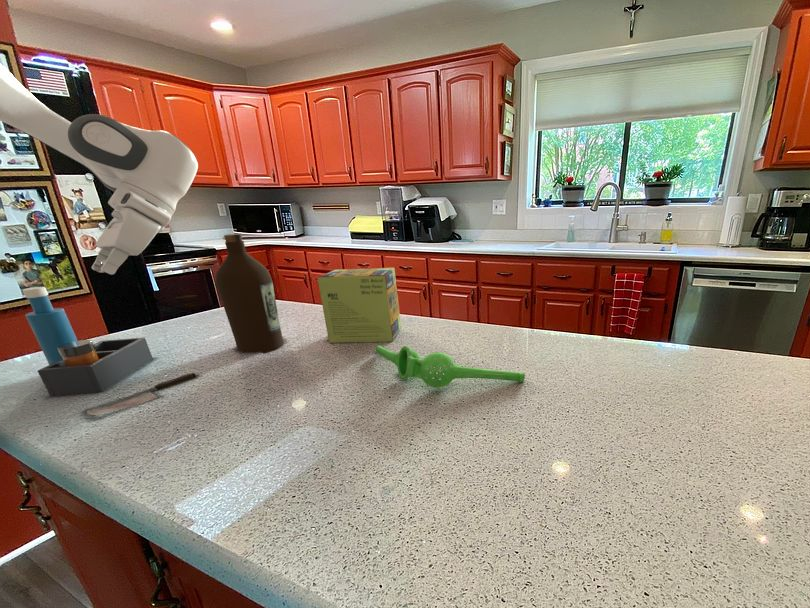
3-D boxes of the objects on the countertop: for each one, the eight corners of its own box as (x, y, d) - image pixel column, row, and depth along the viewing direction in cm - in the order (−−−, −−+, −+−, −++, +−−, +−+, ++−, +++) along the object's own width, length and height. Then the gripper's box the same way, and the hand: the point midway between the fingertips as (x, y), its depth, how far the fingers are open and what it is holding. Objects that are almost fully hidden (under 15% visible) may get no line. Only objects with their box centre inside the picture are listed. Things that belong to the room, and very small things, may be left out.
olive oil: (228, 358, 86) (192, 238, 76) (244, 342, 95) (214, 233, 86) (280, 352, 88) (252, 235, 78) (290, 337, 97) (267, 231, 88)
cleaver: (92, 418, 61) (82, 409, 64) (95, 424, 62) (85, 415, 64) (204, 377, 73) (192, 371, 76) (206, 382, 74) (194, 376, 76)
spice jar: (76, 392, 71) (56, 350, 68) (76, 384, 74) (57, 344, 71) (109, 383, 74) (92, 343, 71) (108, 376, 77) (91, 338, 74)
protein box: (393, 341, 92) (385, 275, 86) (328, 343, 93) (315, 277, 87) (402, 328, 102) (395, 267, 96) (343, 329, 102) (332, 268, 96)
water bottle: (55, 381, 77) (11, 292, 70) (56, 373, 81) (14, 288, 74) (90, 373, 80) (52, 287, 74) (90, 366, 84) (53, 284, 77)
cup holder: (154, 361, 85) (145, 337, 83) (103, 394, 71) (90, 366, 69) (111, 365, 84) (101, 340, 82) (51, 399, 70) (36, 370, 68)
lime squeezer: (525, 379, 71) (525, 346, 69) (497, 409, 62) (497, 372, 59) (380, 353, 86) (376, 325, 83) (339, 374, 76) (334, 343, 74)
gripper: (109, 203, 81) (71, 261, 78) (133, 194, 69) (89, 263, 66) (145, 223, 86) (111, 278, 83) (174, 218, 73) (134, 283, 71)
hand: (101, 271), depth 74 cm, fingers open, 8 cm apart
